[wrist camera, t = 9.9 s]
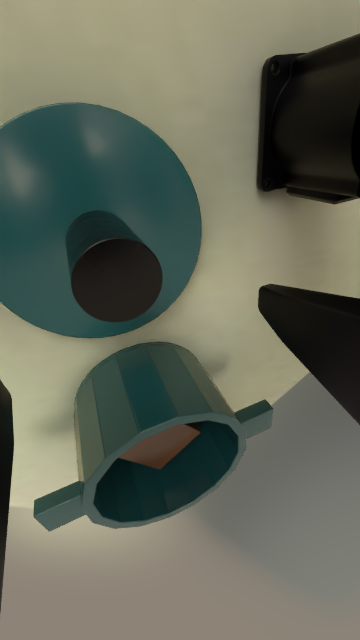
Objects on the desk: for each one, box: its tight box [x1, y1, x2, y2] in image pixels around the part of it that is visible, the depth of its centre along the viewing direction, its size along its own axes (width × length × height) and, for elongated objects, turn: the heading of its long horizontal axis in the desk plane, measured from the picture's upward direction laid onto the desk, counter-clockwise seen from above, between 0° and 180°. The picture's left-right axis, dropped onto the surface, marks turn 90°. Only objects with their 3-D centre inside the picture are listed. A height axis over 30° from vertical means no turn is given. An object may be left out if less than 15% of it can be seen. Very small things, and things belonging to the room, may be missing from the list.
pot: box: [34, 342, 273, 531], centre depth 21 cm, size 11×17×7 cm
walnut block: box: [119, 422, 201, 469], centre depth 22 cm, size 5×5×5 cm
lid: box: [0, 103, 201, 338], centre depth 13 cm, size 12×12×7 cm
